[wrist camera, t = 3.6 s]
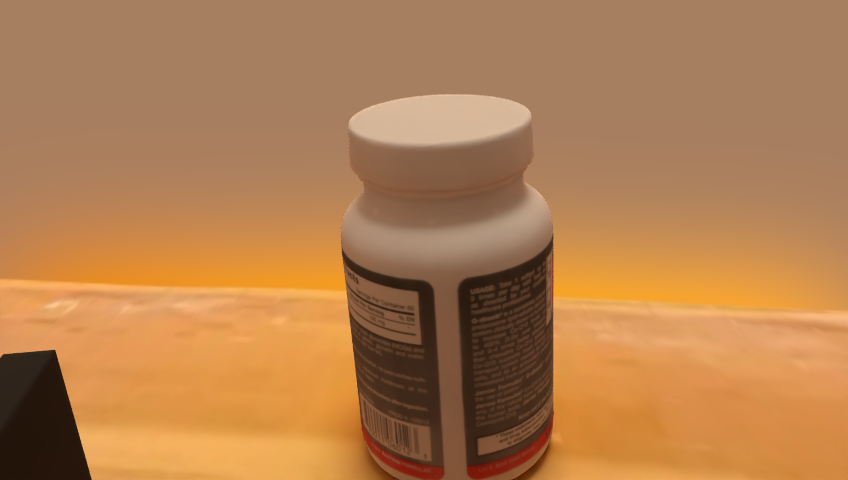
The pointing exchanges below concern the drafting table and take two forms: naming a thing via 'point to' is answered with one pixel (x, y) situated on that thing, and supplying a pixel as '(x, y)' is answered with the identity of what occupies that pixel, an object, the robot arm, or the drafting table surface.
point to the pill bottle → (449, 288)
